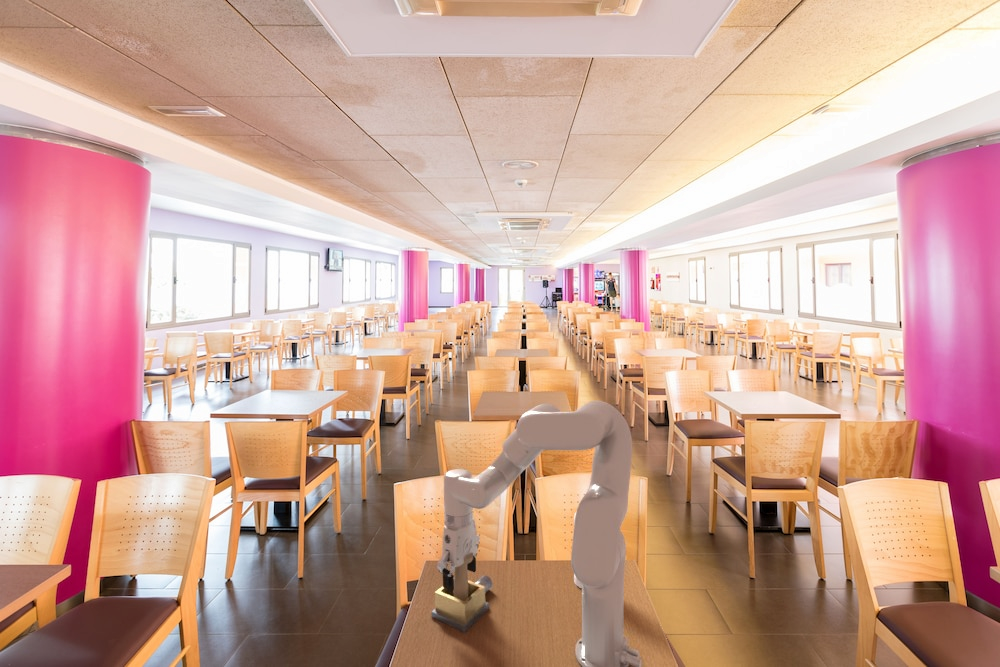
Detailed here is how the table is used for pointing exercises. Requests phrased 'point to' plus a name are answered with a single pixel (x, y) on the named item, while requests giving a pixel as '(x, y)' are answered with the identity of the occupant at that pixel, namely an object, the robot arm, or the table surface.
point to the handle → (462, 579)
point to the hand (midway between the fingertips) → (460, 579)
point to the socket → (462, 604)
